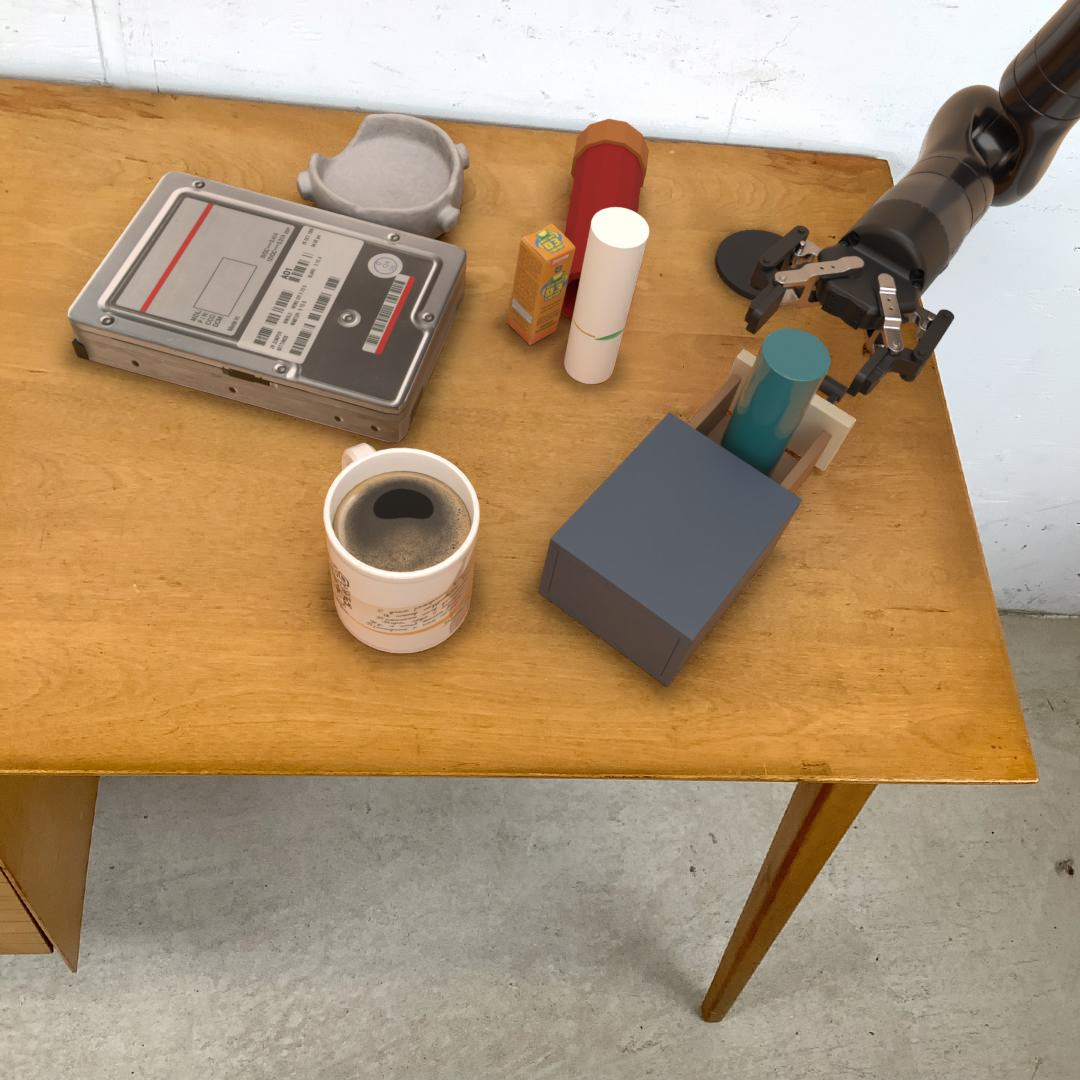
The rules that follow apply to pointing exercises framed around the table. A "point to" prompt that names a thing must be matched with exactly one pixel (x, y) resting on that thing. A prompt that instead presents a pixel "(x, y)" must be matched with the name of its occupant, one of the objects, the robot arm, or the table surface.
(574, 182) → the shell casing
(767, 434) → the canister
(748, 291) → the coaster
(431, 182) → the dish
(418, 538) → the mug
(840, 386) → the drawer
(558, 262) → the supplement box
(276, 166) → the table surface
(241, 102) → the table surface
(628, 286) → the tube
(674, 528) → the cabinet
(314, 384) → the hard drive
